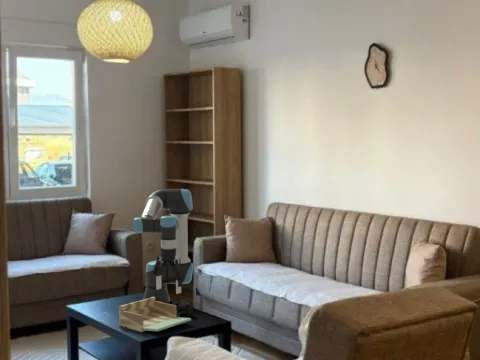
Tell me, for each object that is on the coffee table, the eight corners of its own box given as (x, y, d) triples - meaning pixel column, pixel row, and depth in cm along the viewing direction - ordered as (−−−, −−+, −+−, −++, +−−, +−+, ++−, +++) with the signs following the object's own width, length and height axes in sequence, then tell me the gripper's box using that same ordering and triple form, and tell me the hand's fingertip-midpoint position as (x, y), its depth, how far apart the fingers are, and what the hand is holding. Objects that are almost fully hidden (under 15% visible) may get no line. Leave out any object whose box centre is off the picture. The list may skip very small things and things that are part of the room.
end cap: (193, 316, 343) (193, 303, 343) (180, 317, 340) (180, 305, 340) (185, 311, 352) (185, 299, 352) (173, 313, 349) (173, 300, 348)
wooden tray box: (154, 315, 344) (153, 296, 343) (176, 320, 334) (176, 301, 333) (119, 325, 325) (119, 306, 324) (141, 332, 315) (141, 311, 314)
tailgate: (176, 317, 334) (191, 318, 327) (176, 319, 334) (191, 320, 327) (142, 328, 315) (157, 329, 309) (142, 330, 315) (157, 331, 309)
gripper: (144, 246, 323) (145, 288, 324) (181, 251, 307) (181, 296, 309) (155, 244, 329) (156, 286, 330) (192, 249, 313) (192, 293, 315)
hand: (168, 291), depth 319 cm, fingers open, 13 cm apart
